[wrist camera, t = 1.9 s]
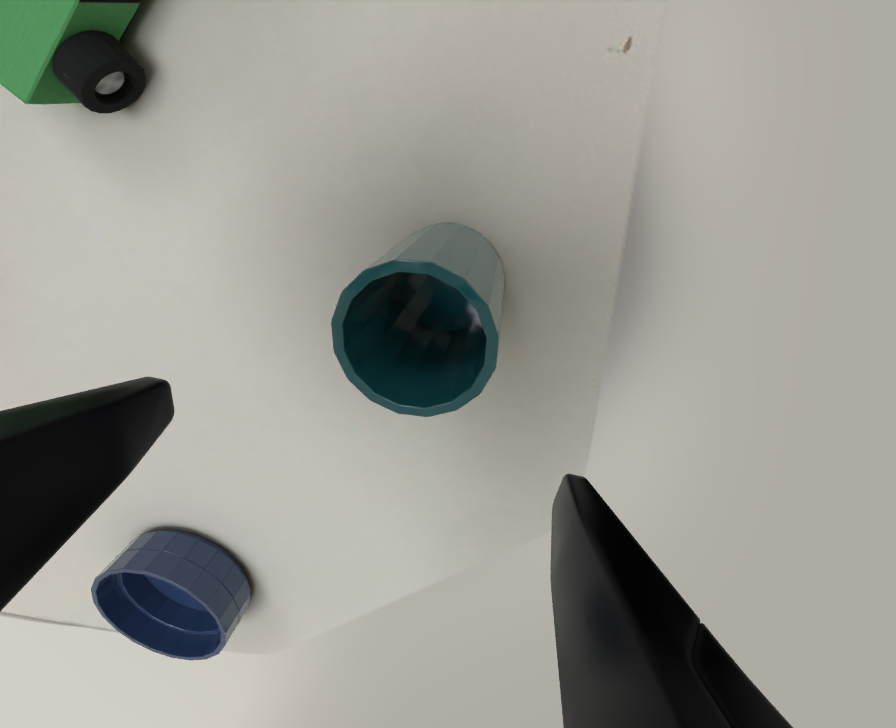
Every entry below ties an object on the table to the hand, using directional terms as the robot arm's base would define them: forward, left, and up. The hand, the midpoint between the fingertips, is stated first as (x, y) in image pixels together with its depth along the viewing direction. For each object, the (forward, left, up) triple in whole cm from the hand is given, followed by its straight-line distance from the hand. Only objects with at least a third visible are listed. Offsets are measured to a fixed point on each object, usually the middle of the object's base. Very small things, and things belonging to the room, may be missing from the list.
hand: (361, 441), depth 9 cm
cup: (0, 0, -13) cm, 13 cm away
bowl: (-17, +29, -13) cm, 36 cm away
